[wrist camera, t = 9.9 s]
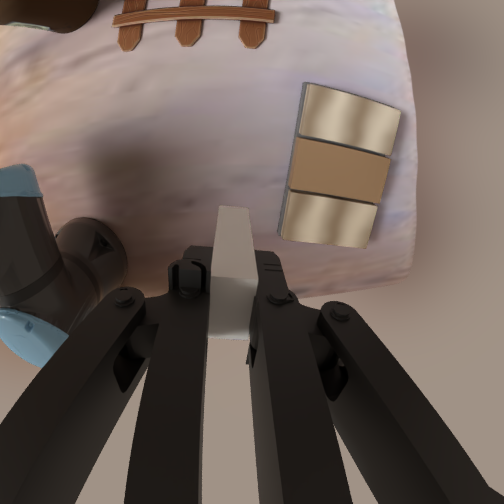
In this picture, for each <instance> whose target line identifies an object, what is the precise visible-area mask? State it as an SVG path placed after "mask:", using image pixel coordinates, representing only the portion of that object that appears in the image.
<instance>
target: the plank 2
mask: <svg viewBox="0 0 504 504" xmlns="http://www.w3.org/2000/svg"><path fill="white" fill-rule="evenodd" d="M376 211H377V206H376V205H374V204H373V203H370V202H365V201H359V200H354V199H348V198H343V197H337V196H331V195H325V194H319V193H312V192H306V191H299V190H292V189H289V191H288V197H287V203H286V208H285V214H284V220H283V225H282V231H281V236H282V239H283V240H290V241H300V242H309V243H318V244H327V245H336V246H345V247H354V248H363V249H366V247H367V244H368V240H369V237H370V233H371V230H372V226H373V223H374V219H375V215H376Z"/></svg>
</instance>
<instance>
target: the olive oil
mask: <svg viewBox="0 0 504 504" xmlns="http://www.w3.org/2000/svg"><path fill="white" fill-rule="evenodd" d="M98 2H99V0H0V25H9V26H20V27H28V28H35V29H42V30H47V31H52V32H57V33H69V32H72V31H74V30H76V29H78V28H79V27H81V26H82V25H83V24H84V23H86V22H87V21H88V19H89V18H90V17H91V16H92V14H93V13H94V11H95V10H96V8H97V5H98Z"/></svg>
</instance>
